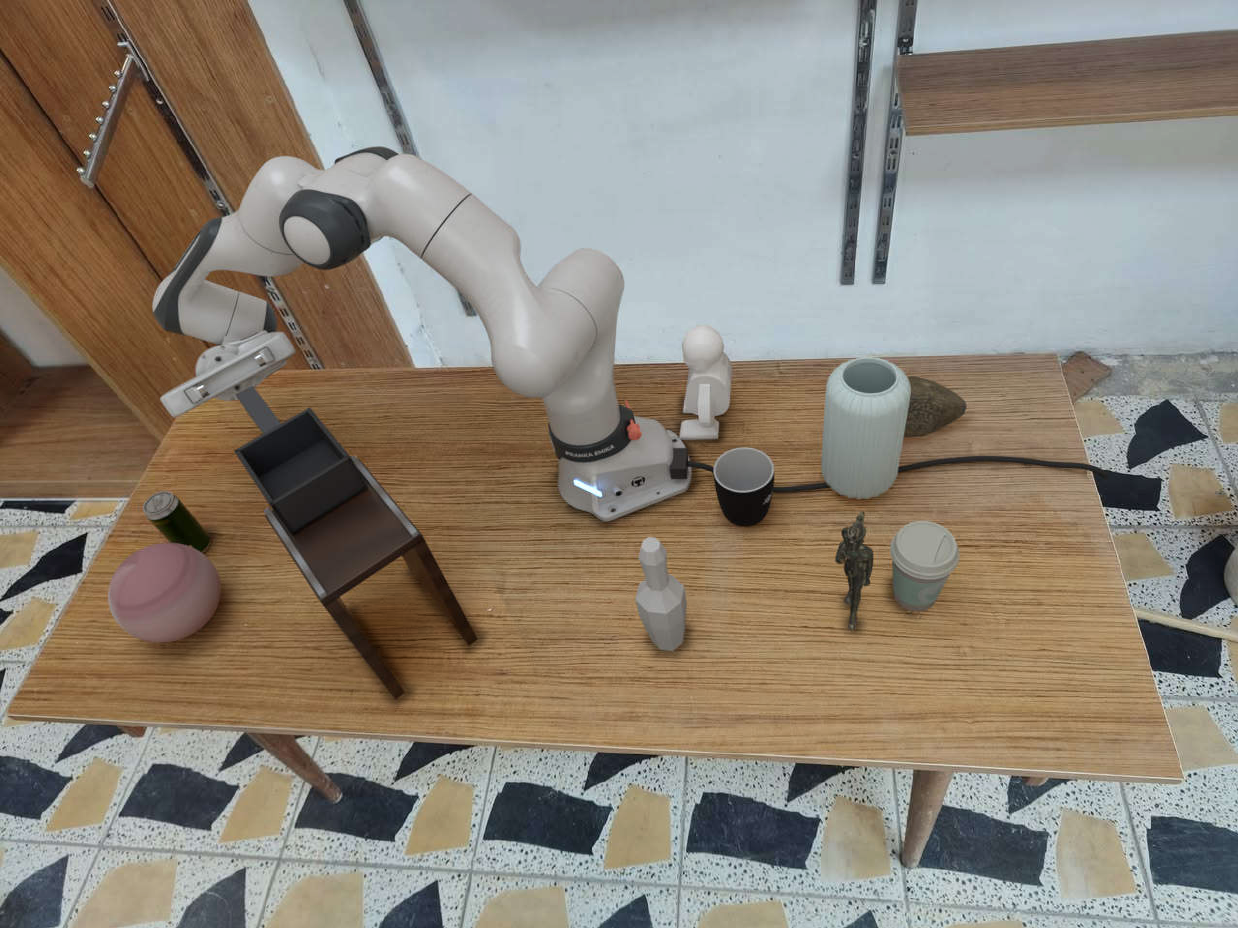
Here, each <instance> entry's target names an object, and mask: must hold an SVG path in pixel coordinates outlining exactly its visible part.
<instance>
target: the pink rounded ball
mask: <svg viewBox="0 0 1238 928" xmlns="http://www.w3.org/2000/svg"><path fill="white" fill-rule="evenodd" d="M108 585H109V586H108V590H107V601H108V607H109V611H110V613H111V615H112V617H113V619H114V620H115V622H116V624H117V625H118V626H119V627H120V628H121V629H122V630H123V631H125V632H126V633H127V634H129V635H130V636H132V637H134V638H136V639H138V640H141V641H145V642H150V643H158V644H159V643H161V644H163V643H171V642H172V643H173V642H176V641H180V640H183V639H185V638H188V637H190V636H192V635H194V634H195V633H196V632H198V631H199V630H201V629H202V628H203V627H204V626H205V625H206V624H207V623H208V622H209V621H210V620H211V618H212V617H213V616H214V614H215V612H216V611H217V609H218V606H219V603H220V600H221V592H222V586H221V585H222V584H221V579H220V575H219V572H218V570H217V568H216V567H215V565H214V563H213V562H212V561H211V560H210V558H208V557H207V556H206V555H205V553H201V552H200V551H198V550H196V549H194V548H192V547H190V546H187V545H183V544H178V543H170V542H161V543H160V542H159V543H154V544H150V545H147V546H145V547H143V548H140V549H138V550H136V551H134V552H133V553H131V554H130V555H129V556H127V557H126V558H125V559H124V560H123V561H122V562H121V563H120V564H119V565H118V567H117V568H116V570H115V571H114V573H113V575H112V577H111V580H110V582H109V584H108Z"/></svg>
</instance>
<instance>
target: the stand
mask: <svg viewBox="0 0 1238 928" xmlns="http://www.w3.org/2000/svg"><path fill="white" fill-rule="evenodd" d="M350 457H351V458H352V460H353V462H354V464H355V465H356V467H357V469H358V471H359V472H360V474H361V476H362V478H363V479H364V481H365V483H366V485H367V486H368V488H367V489H365V490H363V491H362V492H360V493H359V494H357V495H355V496H354V497H352V498H351V499H349V500H347V501H346V502H344V503H343V504H341V505H339V506H338V507H336V508H335V509H333V510H331V511H330V512H328V513H327V514H325V515H323V516H322V517H320V518H319V519H317V520H315V521H314V522H312V523H311V524H309V525H307V526H306V527H304V528H303V529H301V530H299V531H298V532H296V533H295V534H293V535H291V534H290V532H289V531H288V529H287V528H286V527H285V525H284V524H283V523H282V521H281V520H280V519H279V517H278V516H277V514H276V513H275V512H274V510H273V509H272V508H271V507H270V506H268V507H266V508H264V509H263V513H265V514H264V515H263V516H264V518H265V519H266V521H267V522H268V523H269V524H268V525H270V527H271V528H272V531H274V533H275V535H276V536H277V538H278V539H279V542H280V543H281V544H282V545H283V547H284V549H285V550H286V552H287V553H288V555H289V557H290V558H291V559H292V561H293V562H294V564H295V566H296V567H297V568H298V570H299V572H300V574H301V575H302V576H303V578H304V579H305V581H306V582H307V584H308V585H309V587H310V588H311V590H312V592H313V593H314V595H315V596H316V598H317V599H318V601H319V603H320V604H321V605H322V606H323V607H324V609H325V610H326V611H327V613H328V614H329V615H330V617H331V618H332V620H334V621H335V623H336V625H337V626H338V627H339V629H340V630H341V631H342V632H343V634H344V636H346V637H347V639H348V640H349V641H350V643H351V644H352V646H353V647H354V648H355V649H356V651H357V652H358V653H359V655H360V656H361V657H362V658H363V659H364V661H365V663H366V664H367V665H368V666H369V668H370V669H371V671H372V672H373V673H374V674H375V676H376V677H378V679H379V680H380V682H381V683H382V685H383V686H384V687H385V689H386V690H387V691H388V692H389V694H390V695H391V696H392V697H393V699H394V700H397V699H398V698H400V697H401V696H403V695H404V694H405V691H404V688H403V687H402V686H401V684H400V682H399V681H398V680H397V679H396V677H395V675H394V673H393V672H392V670H390V668H389V667H388V666H387V663H386V662H385V660H384V659H383V658H382V656H381V655H380V653H379V652H378V650H377V649H376V647H375V646H374V645H373V642H372V641H371V640H370V638H369V637H368V635H367V634H366V633H365V631H364V629H363V628H362V627H361V625H360V623H359V622H358V621H357V619H356V618H355V616H354V615H353V613H352V612H351V610H350V609H349V607H347V605H346V604H345V602H344V600H343V599H342V598H341V597H342V596H344V595H345V594H346V593H348V592H350V591H352V590H353V589H354V588H356V587H357V586H359V585H360V584H362V583H363V582H365V581H366V580H367V579H370V578H371V577H372V576H373V575H375V574H377V573H378V572H380V571H381V570H383V569H384V568H385V567H387V566H388V565H390V564H392V563H393V562H395V561H396V560H398V559H399V558H401V557H402V560H404V562H405V564H406V566H407V567H408V569H409V571H410V573H411V574H412V575H413V576H414V578H415V579H416V580H417V582H418V583H419V584H420V586H421V587H422V588H423V590H424V591H425V592H426V593H427V594H428V596H429V597H430V598H431V599H432V601H433V602H434V604H435V605H436V606H437V607H438V608H439V610H440V611H441V613H443V615H444V616H445V617H446V619H447V620H448V621H449V623H450V624H451V625H452V626H453V628H454V629H455V630H456V632H457V633H458V634H459V635H460V637H461V638H462V639H463V640H464V642H465V643H466V645H467V646H469V647H470V646H471V645H473V643H475V642H476V641H478V639H479V638H478V637H477V635H476V633H475V631H474V629H473V627H472V625H471V624H470V622H469V620H468V618H467V616H466V614H465V613H464V612H465V611H464V610H463V609H462V606H461V605H460V603H459V601H458V599H457V598H456V596H455V594H454V592H453V590H452V588H451V586H450V584H449V582H448V581H447V579H446V577H445V575H444V573H443V571H442V569H441V568H440V565H439V564H438V562H437V560H436V558H435V556H434V554H433V552H432V551H431V548H430V547H429V545H428V543H427V541H426V539H425V537H424V536H423V534H422V533H421V531H420V530H419V529H418V527H417V526H416V525H415V524H414V523H413V522H412V520H411V519H410V518H409V516H407V514H406V513H405V512H404V511H403V509H402V508H401V507H400V505H398V504H397V502H396V501H395V500H394V499H393V497H392V496H391V495H390V493H389V492H388V491H387V490H386V489H385V488H384V487H383V486H382V484H381V483H380V482H379V480H378V479H377V478H376V477H375V476H374V475H373V473H372V472H371V471H370V470H369V469H368V467H367V466H366V465H365V463H364V462H363V461H362V460H361V459H360V458H359V457H357V456H356V455H355V454H354V455H352V456H350Z"/></svg>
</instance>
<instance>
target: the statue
mask: <svg viewBox="0 0 1238 928" xmlns="http://www.w3.org/2000/svg"><path fill="white" fill-rule="evenodd" d="M865 513H866V512H865V511H864V510H860V512H859V514H858V515H856V517H855V522H853V524H852V525H850V526H845V527H844V528H842V529H841V536H842V539H843V541H840V542H839V544H838V546H837V550H836V553H835V563H836V564H838V565H843V572H844V575H845V576H846V578H847V579H846V580H847V583H848V584H847V585H848V591H847V594H846V595H845V597H844V598H843V602H844V604H845V605H847V606H850V610H849V620H848V625H847V626H848V627H847V628H848V629H849V630H850V631H854V630H856V629H857V627H858V622H857V620H858V619H857V614H858V609H859V605H860V603H861V598H862V589H863V587H864V588H865V587H869V586H870V585H871V575H872V572H873V567H874V550H873V549H872V547H870V546H868V545H866V544H864V543H865V540H864V538H865V537H866V535H867V527H866V526H865V524H864V521H865Z"/></svg>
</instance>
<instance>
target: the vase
mask: <svg viewBox="0 0 1238 928" xmlns="http://www.w3.org/2000/svg"><path fill="white" fill-rule="evenodd" d="M908 377H909V376H907V375H906V373H905V371H903V369H901V368H900V367H898V365H897V364H895V363H893V362H890V361H889V360H887V359H882V358H880V357H874V356H863V357H862V356H861V357H860V356H859V357H857V358H855V359H854V358H851V359H848V360H847V361H846V362H842V363H841V364H839V365H838V366H837V367H836V368H835V369H833V371H832V372H831V374H829V376H828V378H827V381H826V385H825V394H824V395H825V397H824V412H823V428H822V429H823V430H822V446H821V463H820V468H821V469H820V470H821V475H822V478H823V479H824V483H825V482H826V483H827V484H828V485H829V486H831V488H830V489H831V490H832V491H833V492H835V493H838V495H840V496H845V497H847V499H856V500H859V501H860V500H861V499H865V500H870V499H871V498H877V497H879V496H880V495H883V494H886V492H887V491H888V490H889V489H891V487H893V485H894V483H895V481H896V479H897V477H898V474H899V473H898V467H900V461H901V460H900V459H901V455H902V448H903V443H904V437H905V436H904V431H905V425H906V419H907V413H908V407H909V401H910V395H911V386H910V384H909V380H908Z"/></svg>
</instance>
